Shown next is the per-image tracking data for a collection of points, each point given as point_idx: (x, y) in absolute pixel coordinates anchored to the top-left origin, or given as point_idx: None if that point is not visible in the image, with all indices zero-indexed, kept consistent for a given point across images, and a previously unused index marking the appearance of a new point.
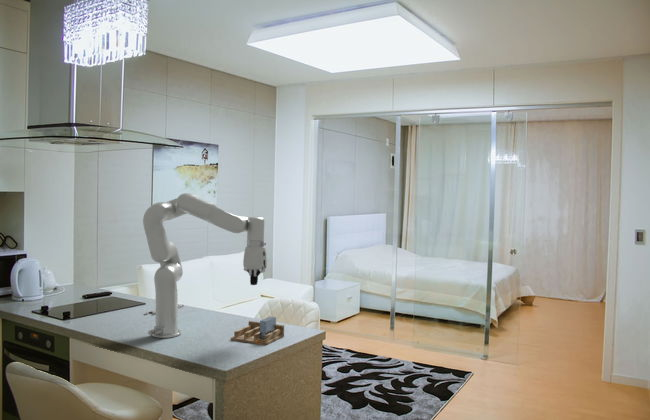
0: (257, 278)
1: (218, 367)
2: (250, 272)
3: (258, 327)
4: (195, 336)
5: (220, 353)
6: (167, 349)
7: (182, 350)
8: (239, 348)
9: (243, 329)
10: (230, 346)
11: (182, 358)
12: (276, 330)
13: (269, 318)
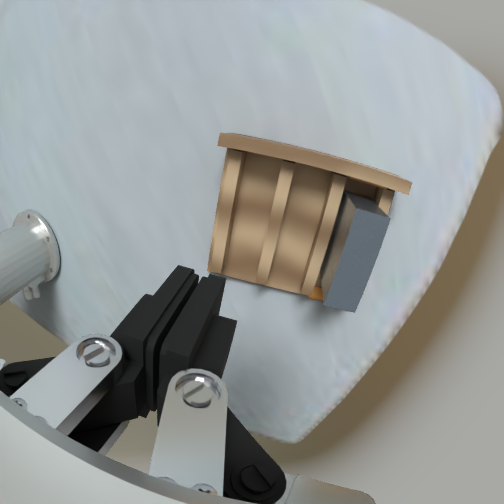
0: (222, 363)
1: (275, 436)
2: (94, 442)
3: (286, 184)
4: (93, 246)
5: (240, 379)
6: None
7: None
8: (274, 342)
9: (229, 224)
10: (240, 328)
11: None
12: None
13: (361, 253)
